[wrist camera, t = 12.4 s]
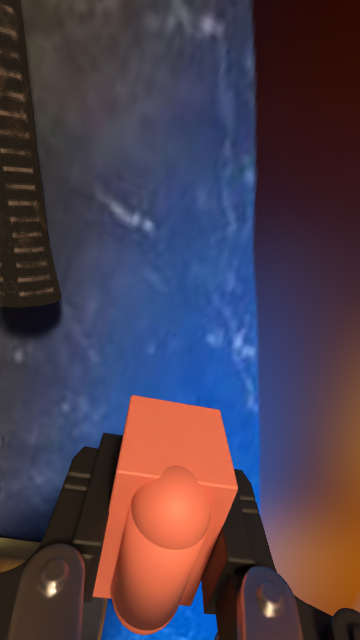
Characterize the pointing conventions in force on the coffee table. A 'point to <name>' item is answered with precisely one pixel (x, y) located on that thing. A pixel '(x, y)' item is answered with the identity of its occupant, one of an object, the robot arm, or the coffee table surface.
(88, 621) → the drawer
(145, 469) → the toy block
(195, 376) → the coffee table surface
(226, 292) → the coffee table surface
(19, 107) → the rubber mallet
